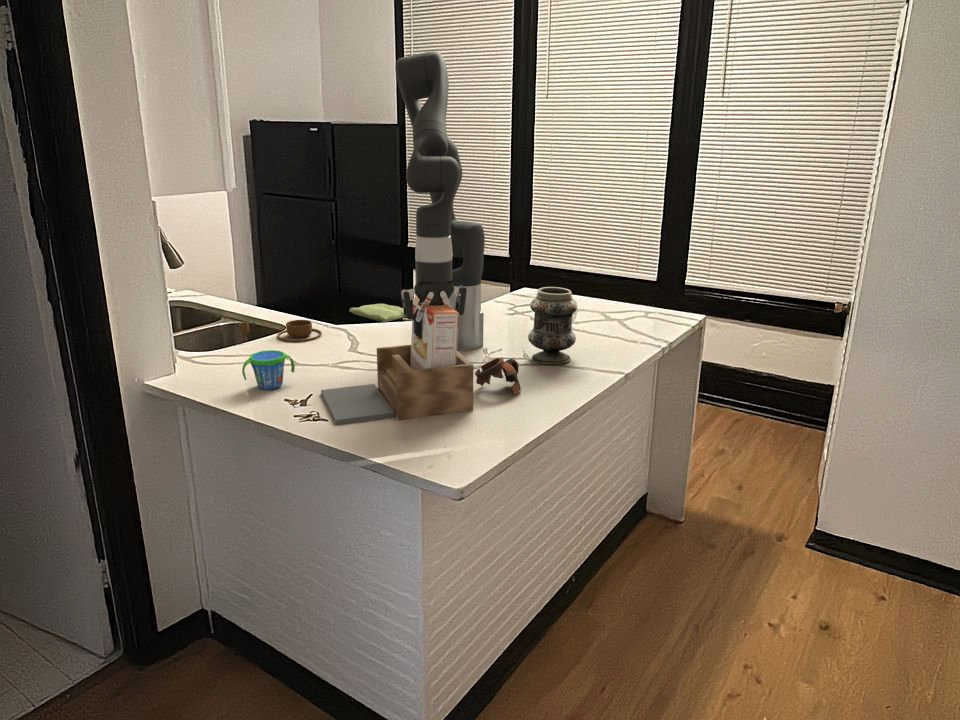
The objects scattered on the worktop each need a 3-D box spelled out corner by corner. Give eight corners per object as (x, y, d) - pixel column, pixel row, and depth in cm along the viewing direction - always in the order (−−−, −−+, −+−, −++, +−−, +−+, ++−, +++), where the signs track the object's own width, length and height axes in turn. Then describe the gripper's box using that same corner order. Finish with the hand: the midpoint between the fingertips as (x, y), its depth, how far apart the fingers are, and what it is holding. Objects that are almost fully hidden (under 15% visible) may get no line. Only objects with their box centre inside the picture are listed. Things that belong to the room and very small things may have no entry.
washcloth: (379, 309, 234) (378, 299, 233) (415, 319, 222) (415, 309, 221) (346, 316, 224) (346, 306, 224) (382, 327, 213) (382, 316, 212)
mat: (374, 387, 163) (374, 383, 162) (394, 416, 147) (394, 412, 146) (321, 394, 159) (320, 389, 158) (336, 424, 143) (335, 420, 142)
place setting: (309, 350, 191) (308, 328, 189) (237, 347, 193) (235, 325, 191) (330, 332, 208) (329, 312, 206) (263, 329, 210) (262, 309, 208)
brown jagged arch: (513, 401, 156) (495, 369, 154) (481, 410, 161) (463, 379, 160) (536, 375, 164) (519, 344, 163) (505, 384, 170) (488, 355, 169)
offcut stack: (406, 392, 161) (405, 353, 158) (421, 411, 150) (421, 370, 147) (386, 394, 159) (385, 355, 156) (401, 414, 148) (399, 373, 146)
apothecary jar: (584, 358, 184) (588, 290, 179) (555, 369, 176) (558, 297, 170) (546, 349, 192) (549, 282, 187) (517, 358, 184) (519, 289, 178)
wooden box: (445, 382, 167) (445, 341, 163) (473, 410, 151) (473, 364, 147) (378, 390, 161) (376, 347, 158) (398, 420, 145) (397, 373, 142)
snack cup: (245, 395, 158) (242, 363, 155) (242, 384, 164) (239, 353, 162) (298, 388, 162) (296, 357, 160) (293, 378, 169) (290, 347, 166)
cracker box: (407, 388, 162) (411, 296, 156) (432, 386, 164) (438, 296, 158) (427, 410, 149) (432, 312, 143) (454, 408, 152) (460, 311, 146)
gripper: (460, 253, 153) (460, 329, 158) (394, 256, 148) (396, 334, 153) (473, 258, 146) (472, 338, 151) (404, 262, 141) (406, 344, 146)
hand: (434, 336), depth 152 cm, fingers closed on cracker box, 6 cm apart
